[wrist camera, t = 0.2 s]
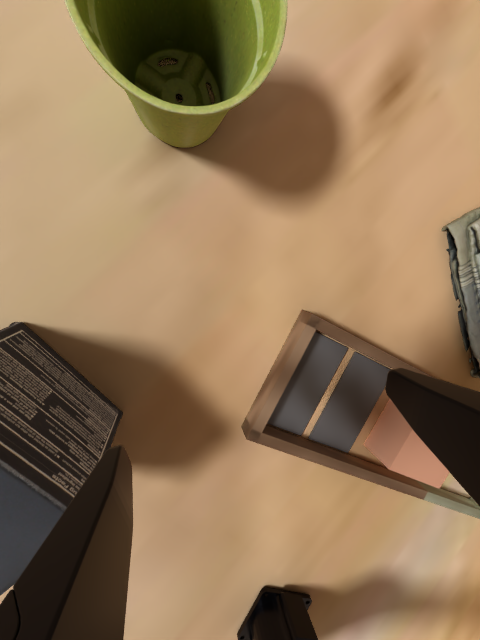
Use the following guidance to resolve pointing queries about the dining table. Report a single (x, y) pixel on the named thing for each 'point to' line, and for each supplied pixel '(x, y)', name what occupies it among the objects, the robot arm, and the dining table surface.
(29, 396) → the small box
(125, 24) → the plant pot
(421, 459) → the block
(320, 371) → the channel
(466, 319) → the dish towel
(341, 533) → the dining table surface
